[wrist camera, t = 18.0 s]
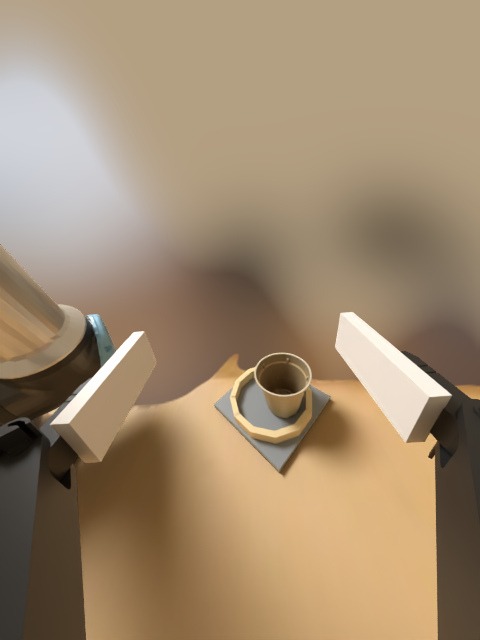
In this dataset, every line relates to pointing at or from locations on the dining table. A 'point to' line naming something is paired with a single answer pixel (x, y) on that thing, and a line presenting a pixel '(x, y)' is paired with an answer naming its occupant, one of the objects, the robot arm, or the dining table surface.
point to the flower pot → (283, 382)
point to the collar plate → (269, 418)
